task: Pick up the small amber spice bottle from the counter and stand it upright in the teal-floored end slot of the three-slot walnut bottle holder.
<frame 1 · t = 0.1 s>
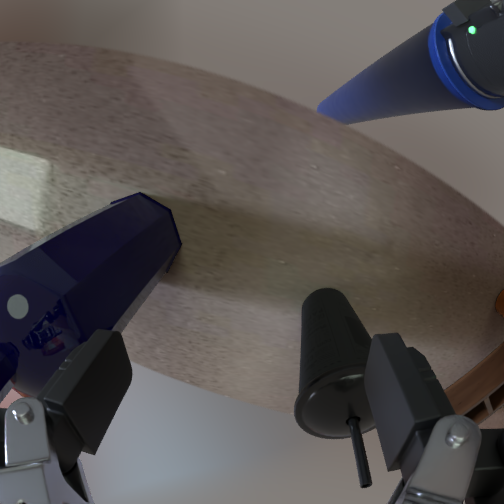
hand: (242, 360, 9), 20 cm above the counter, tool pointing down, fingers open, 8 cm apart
bottle: (139, 236, 30), on the counter
holder: (489, 369, 34), on the counter
drinking cup: (324, 307, 31), on the counter
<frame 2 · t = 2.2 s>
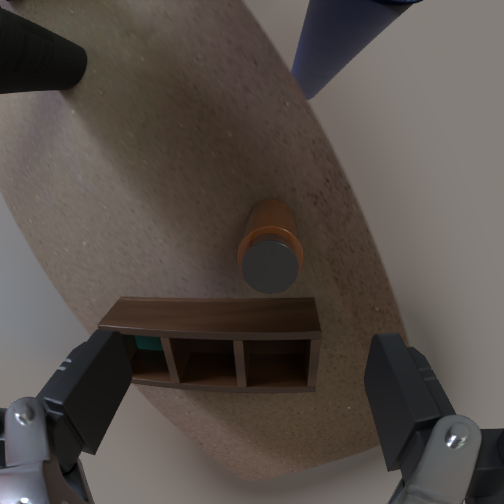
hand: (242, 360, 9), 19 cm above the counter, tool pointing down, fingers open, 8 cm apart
spice bottle: (271, 221, 27), on the counter
holder: (214, 328, 31), on the counter
drinking cup: (69, 67, 22), on the counter
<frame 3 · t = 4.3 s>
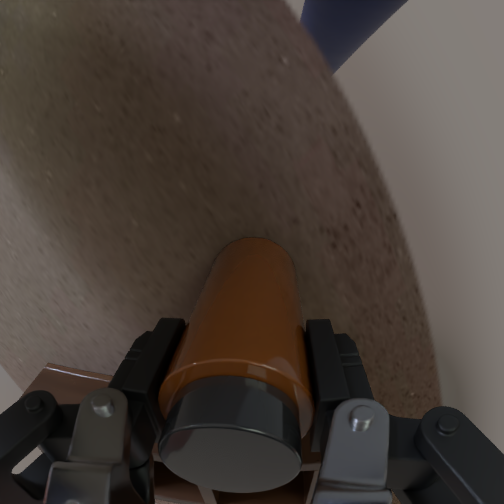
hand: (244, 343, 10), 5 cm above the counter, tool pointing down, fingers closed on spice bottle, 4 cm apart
spice bottle: (253, 276, 15), on the counter, touching gripper
holder: (173, 417, 19), on the counter
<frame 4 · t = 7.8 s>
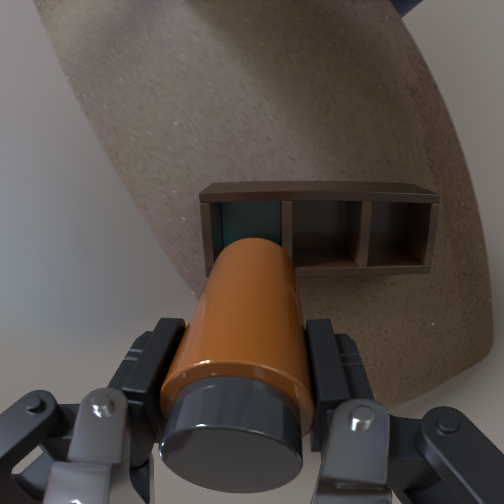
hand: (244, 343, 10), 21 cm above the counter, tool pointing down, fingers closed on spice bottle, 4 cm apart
spice bottle: (254, 277, 15), point 15 cm above the counter, touching gripper
holder: (317, 217, 29), on the counter
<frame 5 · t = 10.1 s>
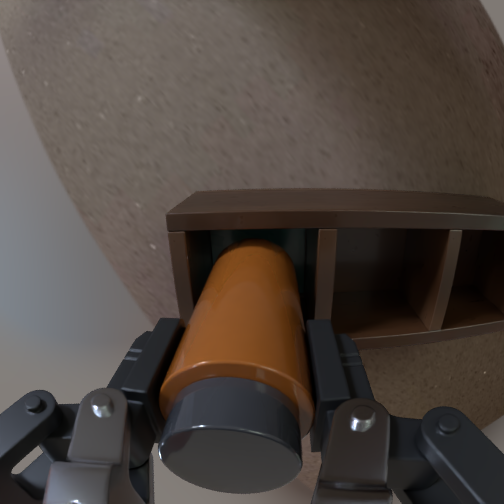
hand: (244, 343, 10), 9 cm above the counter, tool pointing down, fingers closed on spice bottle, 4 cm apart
spice bottle: (254, 277, 15), point 4 cm above the counter, touching gripper
holder: (361, 246, 18), on the counter
when the fingers open (6 cm above the counter, at t = 11.4 s): spice bottle stays where it is, resting on holder.
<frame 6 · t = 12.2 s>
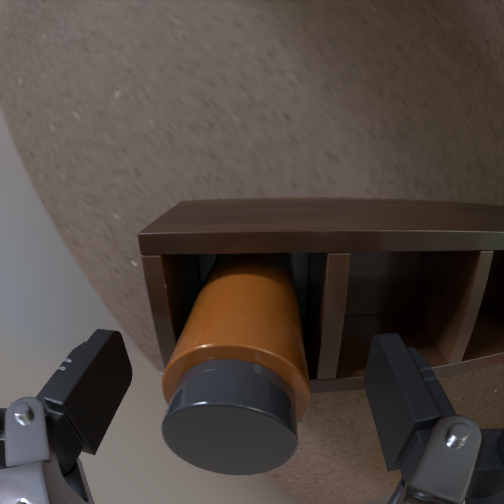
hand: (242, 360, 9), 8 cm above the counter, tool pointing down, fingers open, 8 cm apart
spice bottle: (253, 272, 15), point 1 cm above the counter, touching holder
holder: (372, 264, 16), on the counter
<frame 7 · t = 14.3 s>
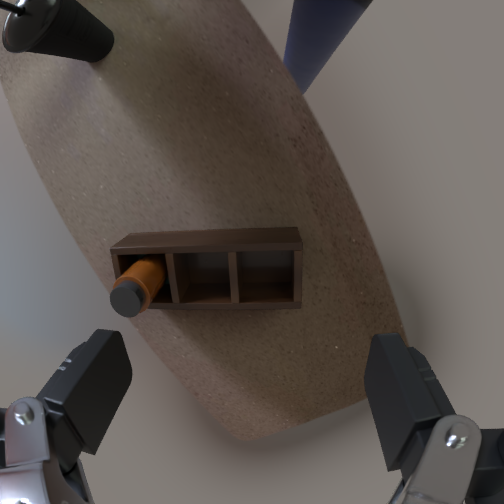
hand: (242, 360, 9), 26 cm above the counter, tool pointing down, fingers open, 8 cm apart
spice bottle: (158, 262, 36), point 1 cm above the counter, touching holder
holder: (211, 259, 36), on the counter
drinking cup: (98, 45, 28), on the counter
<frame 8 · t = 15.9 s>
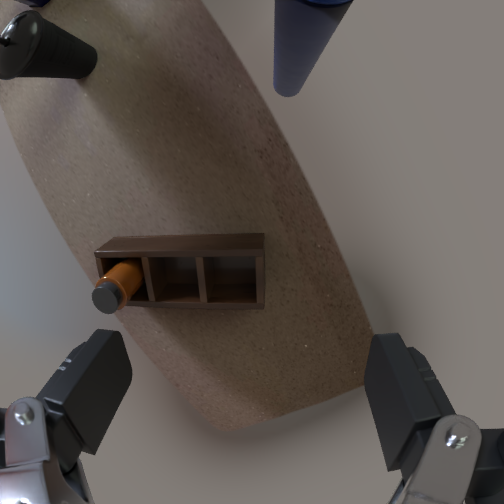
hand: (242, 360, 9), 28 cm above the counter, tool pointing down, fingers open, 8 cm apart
spice bottle: (139, 264, 39), point 1 cm above the counter, touching holder
holder: (186, 261, 39), on the counter
drinking cup: (83, 62, 30), on the counter
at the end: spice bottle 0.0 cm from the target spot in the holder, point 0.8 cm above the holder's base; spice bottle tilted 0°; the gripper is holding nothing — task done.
